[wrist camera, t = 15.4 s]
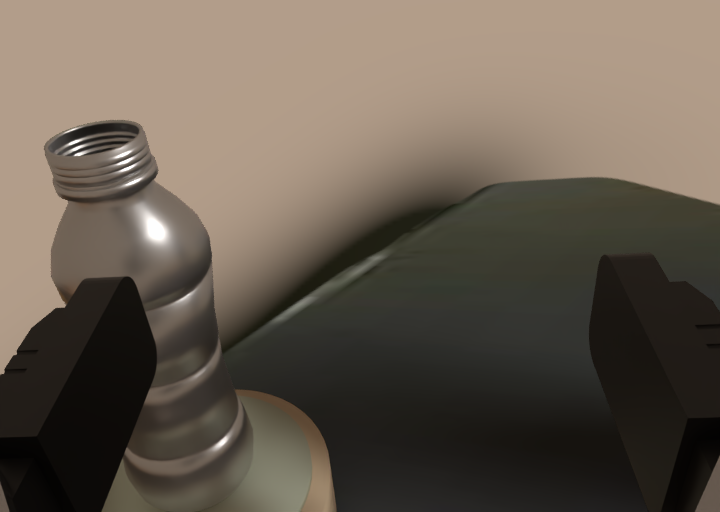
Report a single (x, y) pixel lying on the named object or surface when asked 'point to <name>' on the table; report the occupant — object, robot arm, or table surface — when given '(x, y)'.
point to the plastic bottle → (154, 310)
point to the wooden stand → (263, 466)
